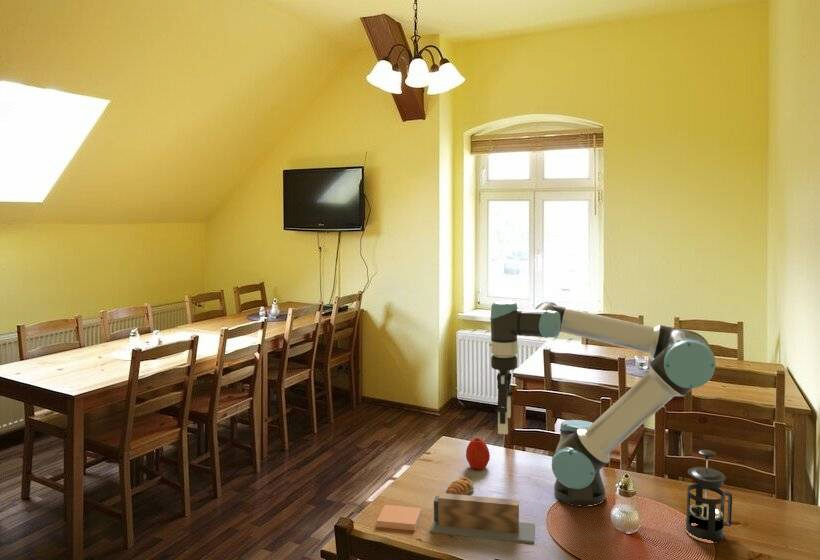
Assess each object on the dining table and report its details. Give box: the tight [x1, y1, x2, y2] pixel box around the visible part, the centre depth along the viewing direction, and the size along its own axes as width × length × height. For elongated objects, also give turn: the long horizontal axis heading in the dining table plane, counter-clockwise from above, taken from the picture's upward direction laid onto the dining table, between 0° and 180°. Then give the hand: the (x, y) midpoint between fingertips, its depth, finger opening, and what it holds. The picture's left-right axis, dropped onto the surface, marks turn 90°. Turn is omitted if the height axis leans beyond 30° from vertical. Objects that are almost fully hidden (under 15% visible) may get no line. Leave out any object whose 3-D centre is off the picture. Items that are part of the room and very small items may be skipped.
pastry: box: [445, 477, 475, 495], centre depth 182 cm, size 9×7×4 cm
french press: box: [685, 449, 733, 543], centre depth 155 cm, size 12×9×23 cm
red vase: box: [465, 437, 491, 471], centre depth 200 cm, size 8×8×11 cm
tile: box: [376, 504, 422, 532], centre depth 167 cm, size 2×9×11 cm
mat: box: [429, 519, 536, 544], centre depth 161 cm, size 28×9×1 cm, turn 76°
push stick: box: [433, 492, 520, 533], centre depth 161 cm, size 23×3×8 cm, turn 76°
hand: (504, 425), depth 172 cm, fingers open, 13 cm apart
